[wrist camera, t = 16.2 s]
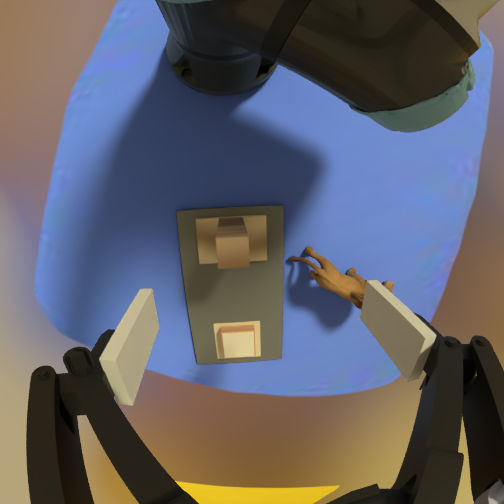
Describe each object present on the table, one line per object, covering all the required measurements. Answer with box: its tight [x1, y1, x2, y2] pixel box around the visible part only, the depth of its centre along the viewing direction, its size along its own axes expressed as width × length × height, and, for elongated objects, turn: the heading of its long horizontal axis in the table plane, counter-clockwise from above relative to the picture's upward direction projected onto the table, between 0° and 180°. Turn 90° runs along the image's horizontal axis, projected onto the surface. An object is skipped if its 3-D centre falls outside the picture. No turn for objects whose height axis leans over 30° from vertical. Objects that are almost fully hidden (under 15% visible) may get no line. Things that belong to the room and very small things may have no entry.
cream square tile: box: [221, 324, 256, 358], centre depth 41 cm, size 5×5×2 cm
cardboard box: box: [196, 215, 267, 269], centre depth 32 cm, size 6×9×11 cm, turn 92°
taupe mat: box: [176, 205, 284, 364], centre depth 39 cm, size 25×14×1 cm, turn 2°
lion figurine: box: [289, 247, 394, 310], centre depth 36 cm, size 15×5×9 cm, turn 72°
